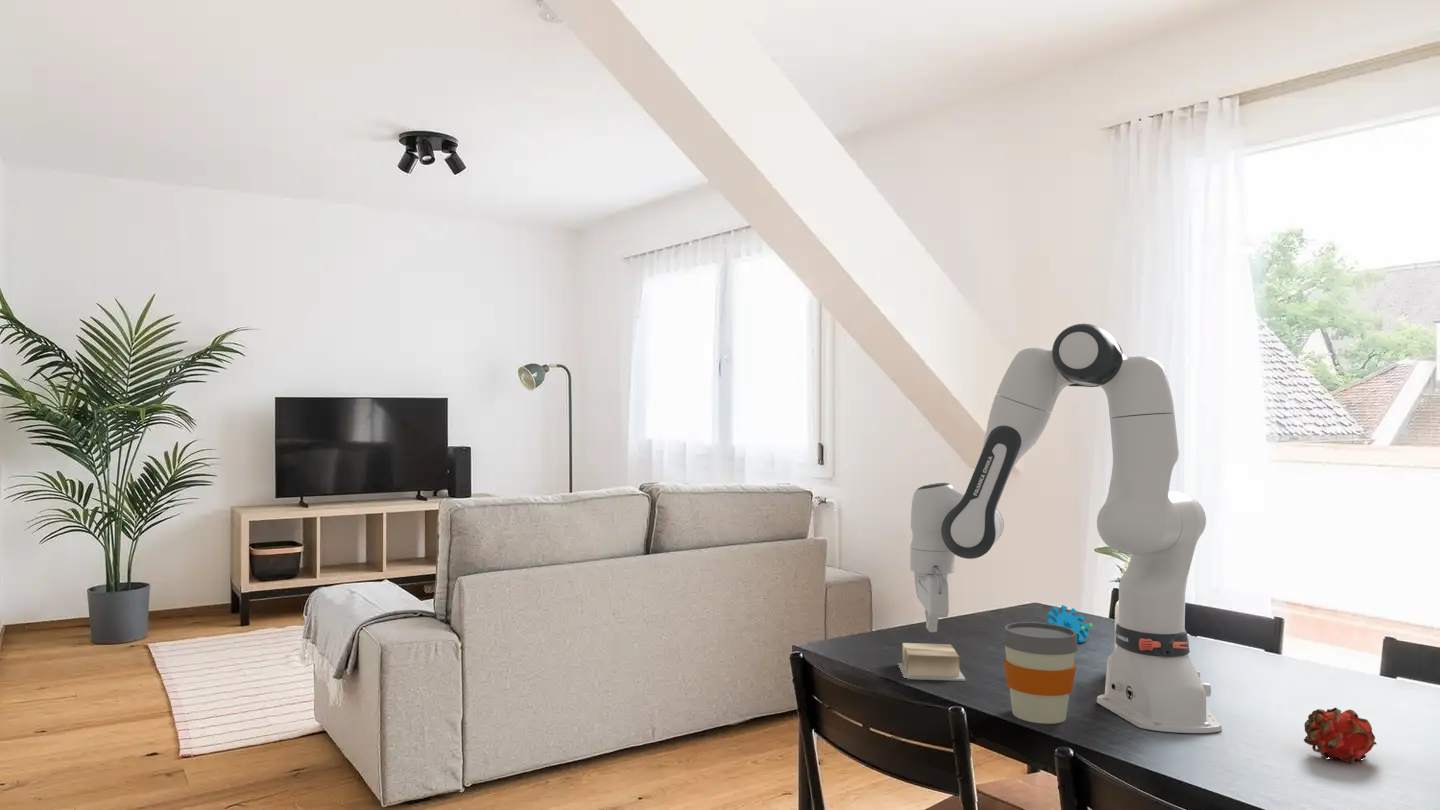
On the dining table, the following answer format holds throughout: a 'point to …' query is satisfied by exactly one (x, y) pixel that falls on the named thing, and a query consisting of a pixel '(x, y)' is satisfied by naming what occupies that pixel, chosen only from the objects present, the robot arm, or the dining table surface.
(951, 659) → the birch slab
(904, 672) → the mat
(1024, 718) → the reusable coffee cup
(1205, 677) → the dining table surface
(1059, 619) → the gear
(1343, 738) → the dragon fruit
